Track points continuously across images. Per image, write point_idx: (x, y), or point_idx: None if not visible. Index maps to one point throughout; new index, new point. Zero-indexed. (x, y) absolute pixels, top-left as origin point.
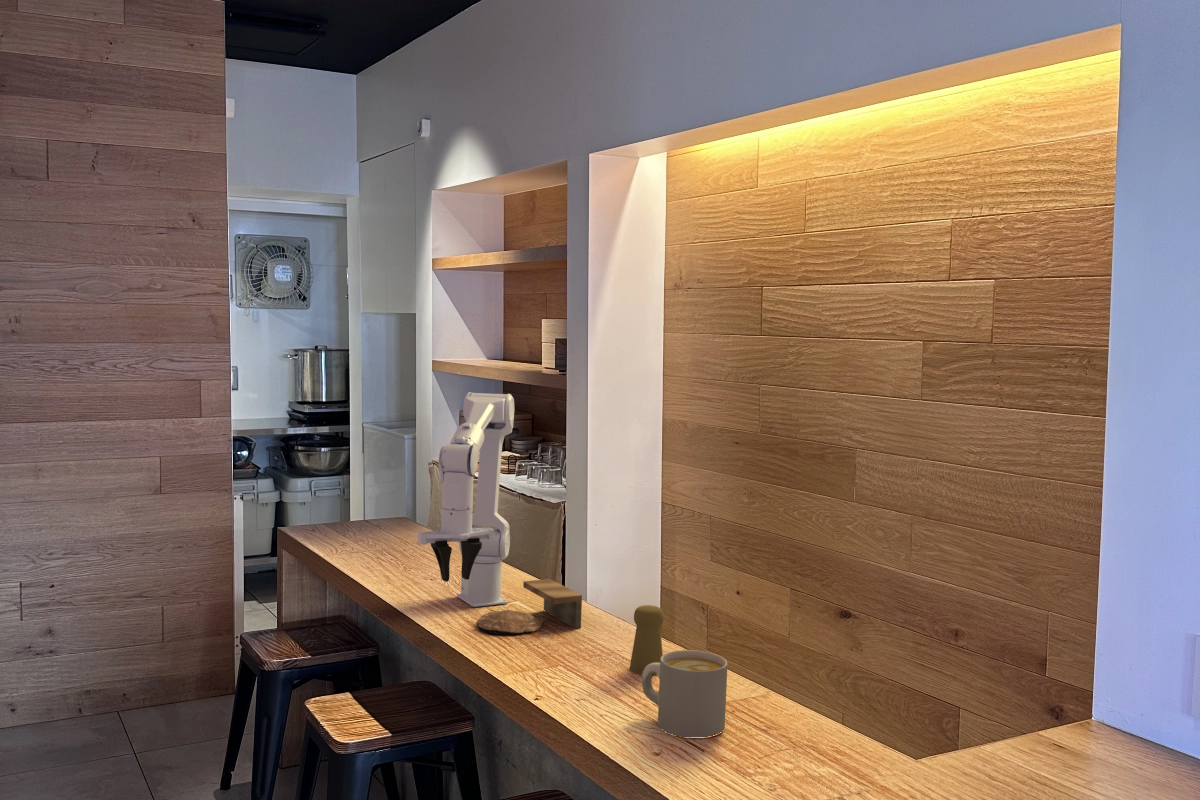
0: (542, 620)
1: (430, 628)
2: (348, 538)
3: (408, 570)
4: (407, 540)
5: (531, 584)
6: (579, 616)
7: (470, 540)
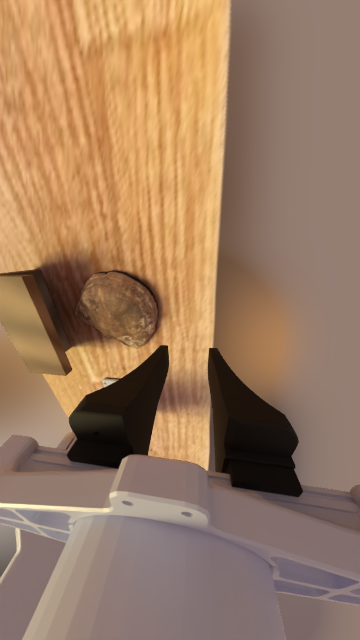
0: (75, 307)
1: (210, 340)
2: None
3: None
4: None
5: (56, 360)
6: (18, 271)
7: (113, 453)
